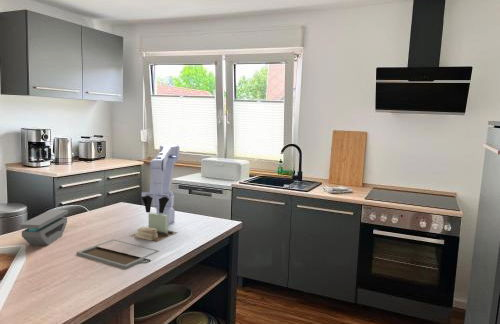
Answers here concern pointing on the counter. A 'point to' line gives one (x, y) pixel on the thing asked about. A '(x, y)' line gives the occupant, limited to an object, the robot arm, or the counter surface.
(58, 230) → the grey slotted block
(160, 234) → the rack
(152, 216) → the sage green block
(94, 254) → the grey framed board
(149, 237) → the offcut lower
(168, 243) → the counter surface
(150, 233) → the offcut upper
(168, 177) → the robot arm
